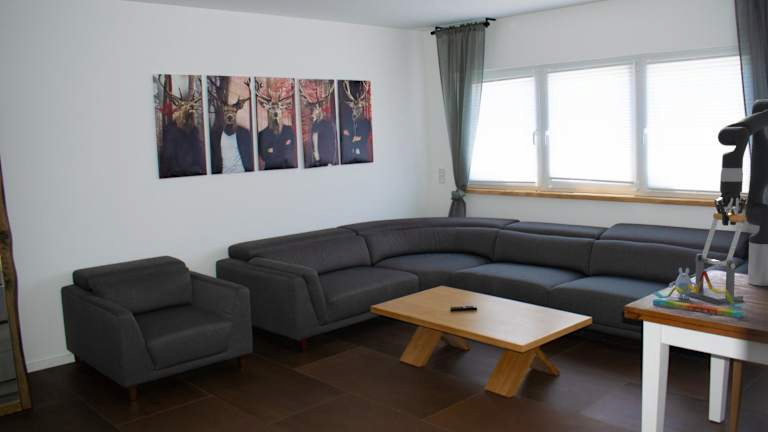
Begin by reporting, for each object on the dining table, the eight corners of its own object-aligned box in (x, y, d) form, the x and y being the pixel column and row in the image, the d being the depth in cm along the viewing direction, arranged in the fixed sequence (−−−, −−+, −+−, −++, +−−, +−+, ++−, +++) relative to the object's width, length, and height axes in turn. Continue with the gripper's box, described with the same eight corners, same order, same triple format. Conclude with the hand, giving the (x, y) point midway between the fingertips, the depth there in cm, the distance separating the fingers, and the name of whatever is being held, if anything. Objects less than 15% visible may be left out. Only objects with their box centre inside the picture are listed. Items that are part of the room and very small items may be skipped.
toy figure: (667, 299, 263) (668, 268, 262) (669, 295, 269) (669, 265, 267) (698, 301, 258) (698, 270, 257) (698, 297, 264) (699, 267, 263)
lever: (704, 262, 267) (720, 213, 267) (730, 268, 255) (747, 216, 255) (698, 260, 266) (714, 210, 266) (724, 266, 254) (741, 214, 254)
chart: (652, 305, 256) (653, 266, 255) (656, 303, 259) (656, 264, 257) (739, 319, 235) (740, 276, 233) (742, 317, 237) (743, 274, 235)
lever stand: (708, 291, 273) (709, 252, 271) (745, 301, 256) (746, 259, 254) (684, 294, 269) (685, 254, 267) (719, 305, 252) (720, 262, 250)
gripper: (737, 179, 265) (735, 223, 267) (709, 179, 261) (706, 224, 262) (754, 180, 258) (751, 225, 260) (724, 180, 253) (722, 227, 255)
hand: (729, 224), depth 261 cm, fingers closed on lever, 3 cm apart
